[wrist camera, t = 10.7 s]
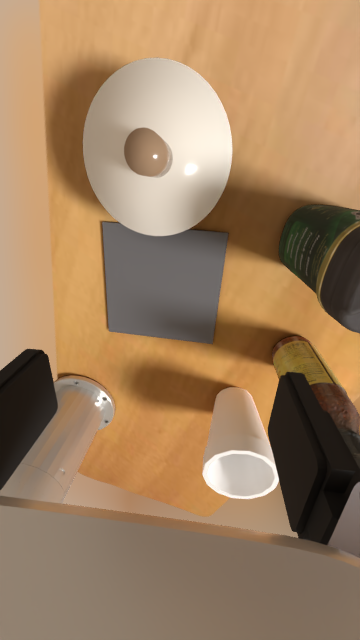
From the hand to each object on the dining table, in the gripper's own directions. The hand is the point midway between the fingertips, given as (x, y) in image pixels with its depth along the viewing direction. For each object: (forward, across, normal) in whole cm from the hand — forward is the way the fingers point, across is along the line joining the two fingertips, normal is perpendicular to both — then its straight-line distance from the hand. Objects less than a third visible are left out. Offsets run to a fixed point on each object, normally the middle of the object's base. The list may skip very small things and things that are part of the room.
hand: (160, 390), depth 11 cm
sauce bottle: (+27, -15, +13) cm, 34 cm away
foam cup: (+27, -8, +24) cm, 37 cm away
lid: (+21, +4, -10) cm, 24 cm away
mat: (+27, +4, +5) cm, 28 cm away
